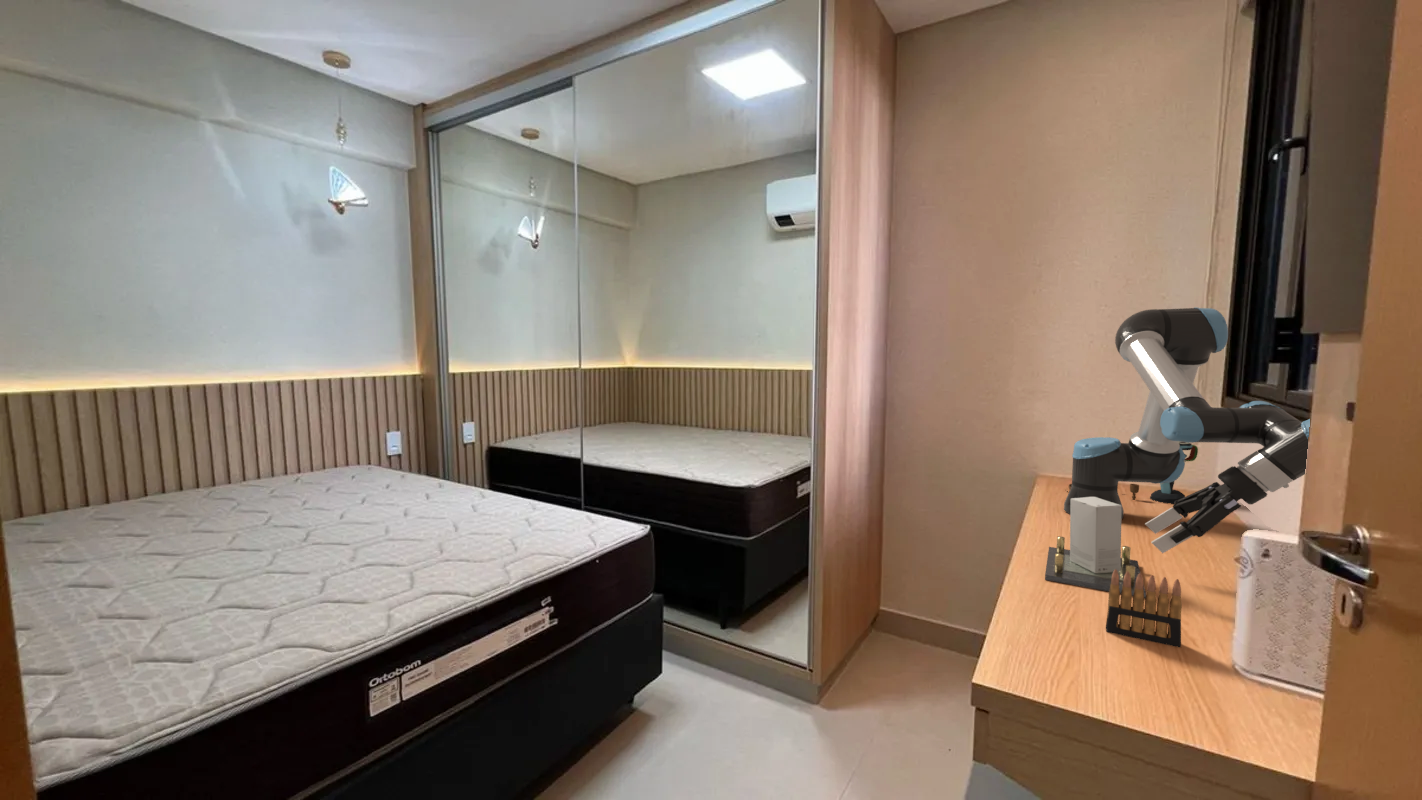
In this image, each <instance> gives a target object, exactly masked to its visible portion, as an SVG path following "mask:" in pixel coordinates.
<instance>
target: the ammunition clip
mask: <svg viewBox="0 0 1422 800" xmlns="http://www.w3.org/2000/svg"><path fill="white" fill-rule="evenodd" d="M1143 584H1144V578H1143V574H1142V573H1139V574H1138V576H1137V579H1136V583H1135V591H1134V594H1133V596H1132V593H1131V577H1130V573H1129V572H1128V571H1127V572H1126V574H1125V576H1124V580H1123V587H1122V592H1121V594H1120V591H1119V575H1118V572H1117V570H1116V569H1115V570H1114V572H1113V574H1112V578H1111V585H1110V590H1109V592H1108V599H1107V600H1108V603H1107V613H1106V621H1105V623H1106V624H1105V631H1106V632H1107V633H1109V634H1114V635H1118V636H1123V637H1128V638H1133V639H1138V640H1142V641H1148V642H1151V643H1156V644H1162V645H1166V646H1171V647H1174V648H1176V647H1177V648H1182V647H1181V646H1182V609H1183V608H1182V607H1183V606H1182V604H1183V603H1182V587H1181V582H1180V580H1179V579H1178V578H1177V579H1175V581H1174V583H1173V586H1172V592H1171V596H1170V597H1171V598H1170V600H1169V584H1168V579H1167V578H1166V577H1165V576H1164V577H1163V578H1162V579H1161V582H1160V586H1159V591H1158V597H1157V594H1156V593H1157V591H1156V589H1157V588H1156V587H1157V585H1156V584H1157V583H1156V579H1155V576H1154V575H1150V577H1149V578H1148V582H1147V589H1146V597H1145V598H1144V589H1143Z"/></svg>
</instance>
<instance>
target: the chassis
mask: <svg viewBox="0 0 1422 800" xmlns="http://www.w3.org/2000/svg"><path fill="white" fill-rule="evenodd" d="M1065 541H1066V538H1065V537H1064V536H1062V535H1061V536H1060V535H1059V536H1056V547H1055V546H1054V547H1052V546H1049V547H1048V552H1047V553H1048V554H1047V559H1046V567H1045V572H1044V573H1045V574H1044V581H1045V580H1046V581H1050V582H1055V583H1061V584H1066V585H1072V586H1077V587H1082V588H1086V589H1087V588H1088V589H1091V590H1092V589H1093V590H1096V591H1097V590H1098V591H1103V592H1108V593H1109V590H1110V585H1111V578H1112V574H1113V573H1094V572H1092V571H1090V570H1088V569H1086V568H1084V567H1082V566H1080V565H1078V564H1075V563H1073V562H1071V561H1070V549H1066V548H1065V543H1066V542H1065ZM1127 571H1128V572H1129V573H1130V577H1131V593H1132V597H1133V594H1134V591H1135V583H1136V579H1137V576H1138V574H1139V573H1141V569H1140V566H1139V561H1138V560H1135V559H1131V547H1130V546H1128V545H1121V571H1120V572H1118V575H1119V591H1120V595H1121V592H1122V587H1123V580H1124V576H1125V574H1126V572H1127ZM1141 574H1142V573H1141ZM1145 588H1146V587H1145V585H1144V583H1143V589H1144V599H1145V597H1146V593H1147V591H1146V589H1145Z"/></svg>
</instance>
